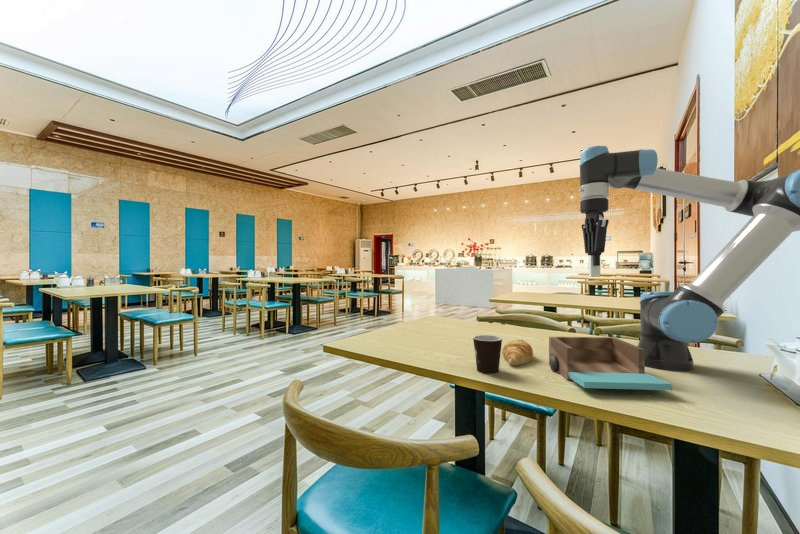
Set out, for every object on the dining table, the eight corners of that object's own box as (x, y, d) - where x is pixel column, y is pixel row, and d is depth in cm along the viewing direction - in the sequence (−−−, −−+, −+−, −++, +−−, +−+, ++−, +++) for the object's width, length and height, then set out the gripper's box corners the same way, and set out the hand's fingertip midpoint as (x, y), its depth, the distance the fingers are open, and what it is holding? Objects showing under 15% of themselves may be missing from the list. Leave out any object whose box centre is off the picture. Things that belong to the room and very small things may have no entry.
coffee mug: (498, 376, 100) (498, 342, 100) (469, 372, 105) (469, 339, 105) (507, 366, 110) (507, 335, 110) (480, 362, 115) (480, 332, 115)
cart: (619, 365, 110) (618, 337, 110) (649, 382, 94) (649, 349, 94) (544, 364, 112) (544, 336, 112) (562, 380, 97) (562, 348, 97)
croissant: (521, 380, 108) (534, 359, 106) (492, 361, 112) (504, 341, 110) (529, 361, 127) (540, 343, 125) (504, 346, 131) (514, 328, 129)
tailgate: (645, 373, 94) (671, 383, 83) (645, 378, 94) (672, 390, 83) (568, 371, 96) (584, 381, 85) (568, 376, 96) (584, 387, 85)
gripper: (572, 203, 113) (573, 276, 113) (590, 195, 100) (591, 277, 100) (597, 202, 112) (597, 276, 112) (618, 194, 99) (618, 277, 99)
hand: (594, 276), depth 106 cm, fingers closed
